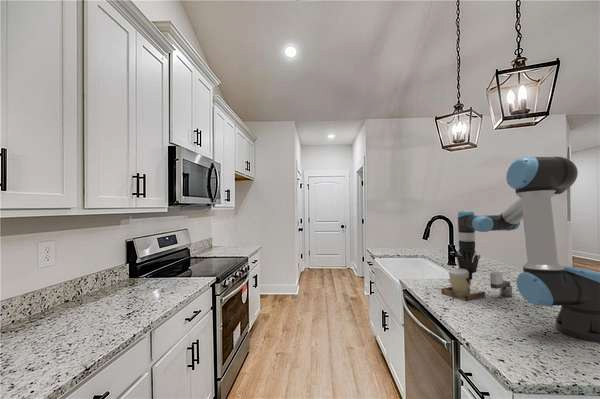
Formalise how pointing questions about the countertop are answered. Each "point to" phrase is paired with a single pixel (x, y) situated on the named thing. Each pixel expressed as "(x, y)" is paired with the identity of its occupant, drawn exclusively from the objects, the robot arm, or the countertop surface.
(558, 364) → the countertop surface
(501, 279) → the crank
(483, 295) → the brown u-shaped wooden bracket
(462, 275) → the coffee cup
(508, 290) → the pedestal
